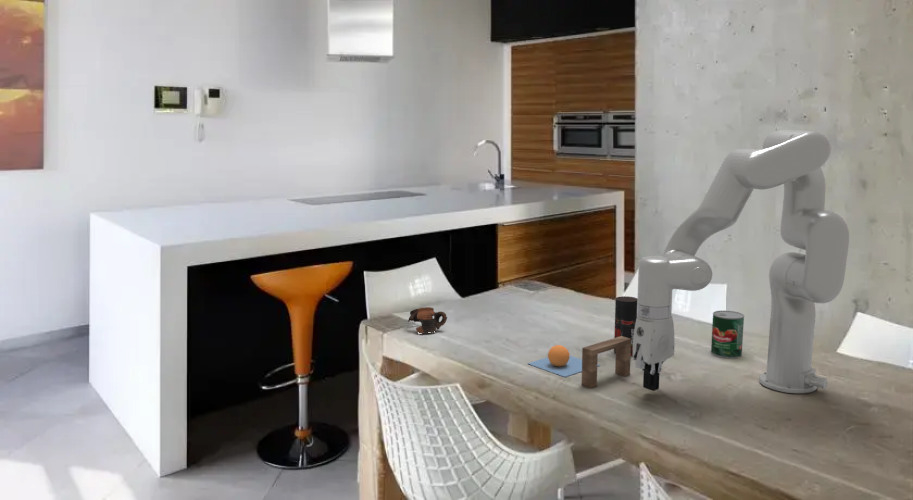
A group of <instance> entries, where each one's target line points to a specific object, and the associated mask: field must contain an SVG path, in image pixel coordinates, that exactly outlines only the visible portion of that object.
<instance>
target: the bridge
mask: <svg viewBox="0 0 913 500" xmlns="http://www.w3.org/2000/svg"><path fill="white" fill-rule="evenodd" d="M615 348H616V354H615V364H614V365H615V369H614V374H616V375H620V376H621V377H622V376H623V377H627V376H629V375H631V358H632V356H631V339H630V338H627V337H623V336H620V337H617V338H611V339H607V340H603V341H601V342H598V343H593V344H589V345H587V346H584V347H582V351H581V352H582V354H581V355H582V356H581V359H582V372H581V385H582V386H584V387H587V388H589V389H592V388H596V387H598V367H597V365H598V362H599V361H598V358H599V357H598V356H599V354H602V353H605V352H608V351H611V350H614V349H615Z"/></svg>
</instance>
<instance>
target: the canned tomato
mask: <svg viewBox="0 0 913 500" xmlns="http://www.w3.org/2000/svg"><path fill="white" fill-rule="evenodd" d="M711 323H712V324H711V325H712V327H711V328H712V329H711V346H710V347H711V349H710V353H711V355H713V356H714V357H718V358H721V359H738V358H741V357H742V356H743V354H742V353H743V343H744V342H743V341H744V339H743V338H744V324H745V314H743V313H741V312H739V311H734V310H715V311H713V312H712V322H711Z"/></svg>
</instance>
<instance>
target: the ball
mask: <svg viewBox="0 0 913 500" xmlns="http://www.w3.org/2000/svg"><path fill="white" fill-rule="evenodd" d="M548 350H549V351H548V353H547V357H548V359H549V361H550V363H551V364H552V365H554V366H557V367H561V366H564V365H566V364H567V363H568V361H569V358H570V356H571V355H570V352H569V349H568V348H566V347H565V346H564V345H560V344H556V345H554V346H552V347H551V348H550V349H548Z"/></svg>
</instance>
